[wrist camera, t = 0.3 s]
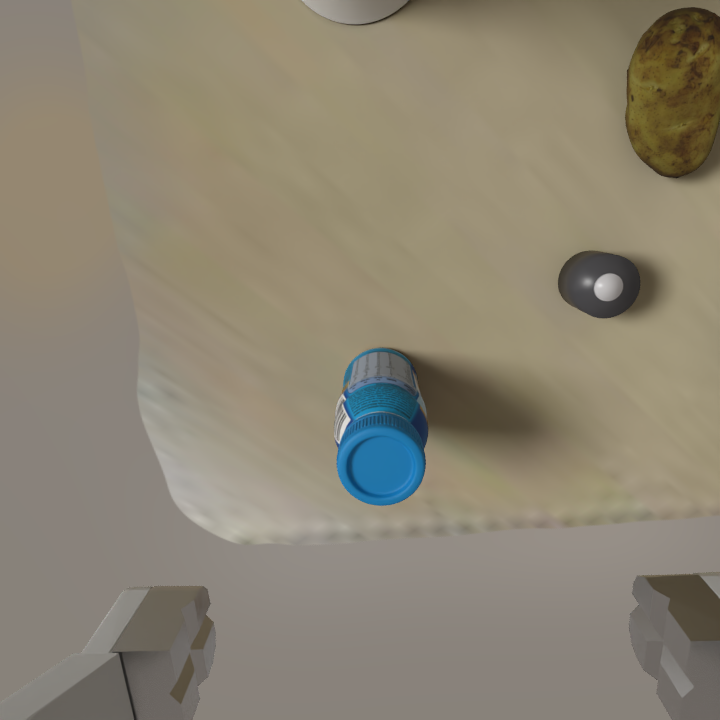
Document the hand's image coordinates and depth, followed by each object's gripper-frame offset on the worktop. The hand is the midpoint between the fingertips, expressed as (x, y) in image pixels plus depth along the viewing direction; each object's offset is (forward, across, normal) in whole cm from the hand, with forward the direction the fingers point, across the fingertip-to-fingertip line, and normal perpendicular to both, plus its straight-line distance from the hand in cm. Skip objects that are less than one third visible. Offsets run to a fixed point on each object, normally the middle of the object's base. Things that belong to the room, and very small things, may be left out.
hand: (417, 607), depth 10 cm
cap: (+46, -21, +1) cm, 51 cm away
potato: (+47, -26, -15) cm, 55 cm away
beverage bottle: (+47, +1, +11) cm, 48 cm away
